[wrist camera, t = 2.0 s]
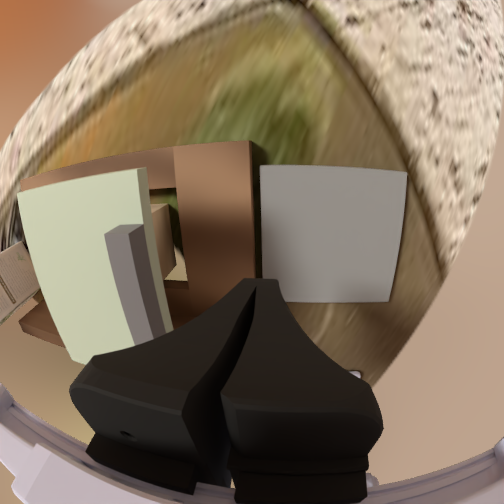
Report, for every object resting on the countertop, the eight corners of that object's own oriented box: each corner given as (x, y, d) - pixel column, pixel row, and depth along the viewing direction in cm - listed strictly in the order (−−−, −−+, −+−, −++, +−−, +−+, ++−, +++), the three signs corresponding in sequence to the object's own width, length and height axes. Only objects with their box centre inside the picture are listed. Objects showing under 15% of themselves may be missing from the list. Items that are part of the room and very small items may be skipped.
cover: (187, 379, 15) (176, 404, 13) (78, 353, 16) (64, 370, 14) (146, 166, 10) (119, 173, 8) (26, 190, 11) (2, 199, 10)
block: (176, 264, 19) (138, 310, 14) (125, 262, 20) (81, 302, 14) (168, 203, 18) (119, 232, 12) (115, 206, 18) (61, 233, 13)
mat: (386, 297, 18) (388, 301, 17) (263, 296, 19) (262, 301, 19) (403, 171, 15) (407, 172, 14) (260, 165, 16) (259, 165, 15)
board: (257, 324, 20) (245, 385, 15) (58, 300, 23) (23, 331, 17) (251, 140, 15) (230, 139, 10) (28, 177, 18) (-20, 193, 12)
